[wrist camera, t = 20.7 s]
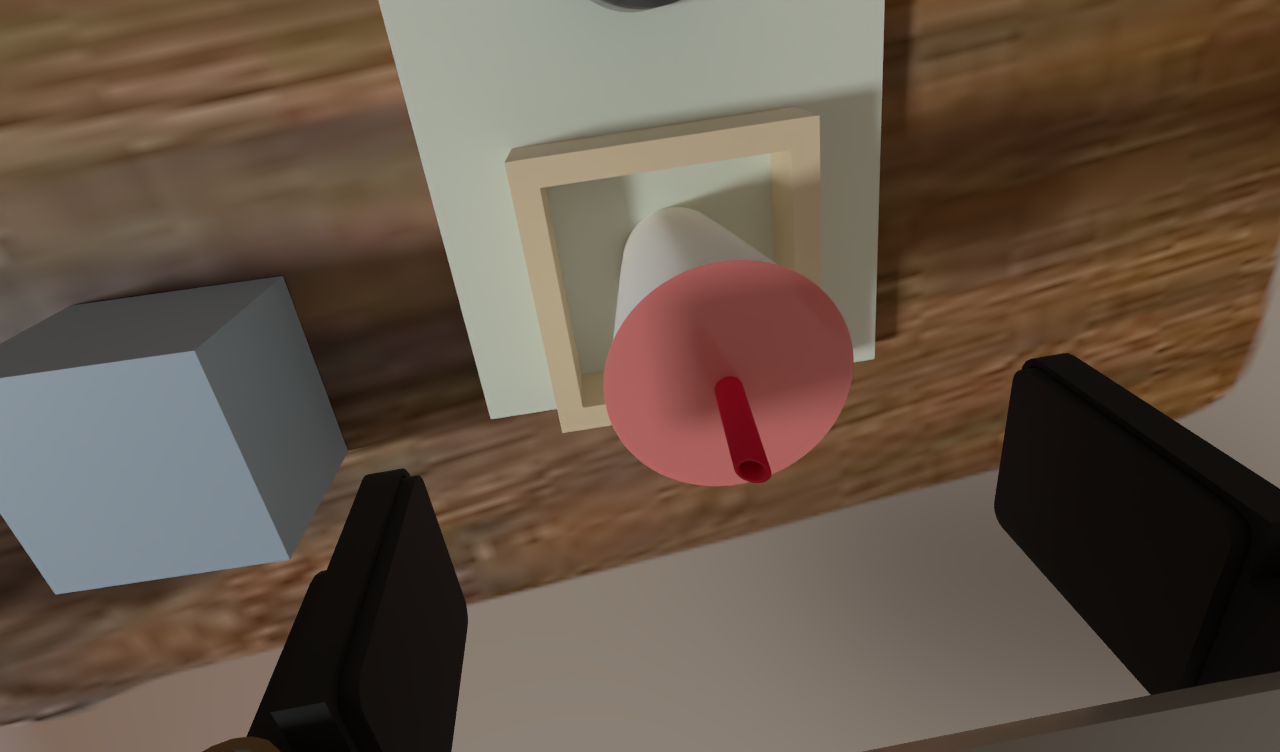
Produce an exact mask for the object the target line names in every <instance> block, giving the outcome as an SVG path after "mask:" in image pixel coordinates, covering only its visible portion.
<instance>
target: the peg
mask: <svg viewBox="0 0 1280 752" xmlns="http://www.w3.org/2000/svg"><path fill="white" fill-rule="evenodd" d="M590 1H592V2H594V3H596V4H598V5H599V6H602V7H604V8H607V9H610V10H614V11H619V12H629V13H630V12H641V11H646V10H650V9H654V8H658V7H661V6H665V5H668V4H672V3H675V2H677V1H680V0H590Z"/></svg>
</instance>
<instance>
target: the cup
mask: <svg viewBox="0 0 1280 752" xmlns="http://www.w3.org/2000/svg"><path fill="white" fill-rule="evenodd" d="M853 367H854V356H853V346H852V341H851V337H850V333H849V330H848V327H847V325H846V322H845V320H844V318H843V316H842V314H841V312H840V311H839V309H838V308H837V306H836V305H835V303H834V302H833V301H832V300H831V298H830V297H829V296H828V295H827V294H826V293H825V292H824V291H823V290H822V289H821V288H820V287H819V286H817V285H816V284H815V283H813V282H812V281H811V280H809V279H808V278H806V277H804V276H803V275H801V274H799V273H797V272H795V271H793V270H790V269H788V268H785V267H783V266H779V265H777V264H776V263H774V262H773V261H772V260H770V259H769V258H767V257H766V256H764V255H763V254H762V253H760V252H759V251H757V250H756V249H754V248H753V247H751V246H750V245H749V244H747V243H746V242H744V241H743V240H741V239H740V238H738V237H737V236H736V235H734V234H733V233H731V232H730V231H728V230H727V229H725V228H724V227H722V226H721V225H719V224H718V223H716V222H715V221H713V220H711V219H710V218H708V217H707V216H705V215H704V214H702V213H700V212H698V211H696V210H693V209H689V208H684V207H669V208H664V209H661V210H658V211H655V212H653V213H651V214H649V215H648V216H646V217H645V218H644V219H642V220H641V221H640V222H639V223H638V224H637V225H636V226H635V227H634V229H633V230H632V231H631V233H630V235H629V237H628V239H627V241H626V244H625V247H624V251H623V258H622V265H621V272H620V281H619V290H618V299H617V308H616V318H615V328H614V338H613V342H612V344H611V347H610V350H609V353H608V356H607V360H606V365H605V371H604V399H605V404H606V409H607V412H608V416H609V418H610V421H611V423H612V426H613V428H614V430H615V432H616V433H617V435H618V437H619V438H620V440H621V441H622V442H623V444H624V445H625V446H626V448H627V449H628V450H629V451H630V452H631V453H632V454H633V455H634V456H635V457H636V458H637V459H639V460H640V461H641V462H642V463H644V464H645V465H646V466H648V467H649V468H651V469H653V470H654V471H656V472H658V473H660V474H662V475H664V476H667V477H669V478H672V479H674V480H678V481H681V482H685V483H689V484H695V485H702V486H729V485H737V484H743V483H747V482H752V483H762V482H765V481H767V480H768V479H770V477H771V475H772V474H774V473H776V472H779V471H781V470H783V469H784V468H786V467H788V466H790V465H791V464H793V463H795V462H796V461H797V460H799V459H800V458H802V457H803V456H804V455H806V454H807V453H808V452H809V451H810V450H812V449H813V448H814V447H815V446H816V445H817V444H818V443H819V442H820V441H821V440H822V439H823V437H824V436H825V435H826V434H827V433H828V431H829V430H830V429H831V427H832V426H833V424H834V423H835V421H836V420H837V418H838V416H839V415H840V413H841V411H842V409H843V407H844V404H845V402H846V400H847V397H848V394H849V391H850V387H851V382H852V377H853Z"/></svg>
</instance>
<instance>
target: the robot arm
mask: <svg viewBox="0 0 1280 752" xmlns="http://www.w3.org/2000/svg"><path fill="white" fill-rule="evenodd" d="M994 509H995V514H996V517H997V520H998V522H999V524H1000V525H1001V526H1002V528H1003V529H1004V530H1005V531H1006V532H1007V533H1008V535H1009V536H1010V537H1011V538H1012V539H1013V540H1014V541H1015V542H1016V544H1017V545H1018V546H1019V547H1020V548H1021V549H1022V550H1023V551H1024V552H1025V554H1026V555H1027V556H1028V557H1029V558H1030V559H1031V561H1032V562H1033V563H1034V564H1035V565H1036V566H1037V567H1038V568H1039V569H1040V571H1041V572H1042V573H1043V574H1044V575H1045V576H1046V577H1047V579H1048V580H1049V581H1050V582H1051V583H1052V584H1053V585H1054V586H1055V587H1056V589H1057V590H1058V591H1059V592H1060V593H1061V594H1062V595H1063V597H1064V598H1065V599H1066V600H1067V601H1068V602H1069V603H1070V604H1071V605H1072V606H1073V608H1074V609H1075V610H1076V611H1077V612H1078V613H1079V614H1080V616H1081V617H1082V618H1083V619H1084V620H1085V621H1086V622H1087V624H1088V625H1089V626H1090V627H1091V628H1092V629H1093V630H1094V631H1095V632H1096V634H1097V635H1098V636H1099V637H1100V638H1101V639H1102V640H1103V642H1104V643H1105V644H1106V645H1107V646H1108V647H1109V648H1110V649H1111V651H1112V652H1113V653H1114V654H1115V655H1116V656H1117V657H1118V658H1119V660H1120V661H1121V662H1122V663H1123V664H1124V665H1125V666H1126V668H1127V669H1128V670H1129V671H1130V672H1131V673H1132V674H1133V675H1134V676H1135V678H1136V679H1137V680H1138V681H1139V682H1140V683H1141V684H1142V686H1143V687H1144V688H1145V689H1146V690H1147V691H1148V692H1149V693H1150V694H1151V695H1149V696H1144V697H1139V698H1134V699H1129V700H1123V701H1119V702H1113V703H1108V704H1103V705H1098V706H1093V707H1087V708H1082V709H1077V710H1072V711H1066V712H1061V713H1056V714H1051V715H1046V716H1040V717H1035V718H1030V719H1025V720H1020V721H1015V722H1010V723H1005V724H1000V725H995V726H989V727H984V728H979V729H975V730H969V731H964V732H960V733H955V734H949V735H944V736H939V737H934V738H929V739H924V740H919V741H914V742H909V743H904V744H899V745H894V746H889V747H884V748H879V749H874V750H869V751H864V752H1280V489H1279V488H1278V487H1276V486H1274V485H1273V484H1271V483H1270V482H1268V481H1267V480H1265V479H1264V478H1262V477H1260V476H1259V475H1257V474H1256V473H1254V472H1253V471H1251V470H1250V469H1248V468H1247V467H1245V466H1244V465H1242V464H1240V463H1239V462H1237V461H1236V460H1234V459H1233V458H1231V457H1230V456H1228V455H1227V454H1225V453H1224V452H1222V451H1220V450H1219V449H1217V448H1216V447H1214V446H1213V445H1211V444H1210V443H1208V442H1207V441H1205V440H1203V439H1202V438H1200V437H1199V436H1197V435H1196V434H1194V433H1192V432H1191V431H1190V430H1188V429H1186V428H1185V427H1183V426H1182V425H1180V424H1179V423H1177V422H1176V421H1174V420H1173V419H1171V418H1169V417H1168V416H1166V415H1165V414H1163V413H1162V412H1160V411H1159V410H1157V409H1156V408H1154V407H1152V406H1151V405H1149V404H1148V403H1146V402H1145V401H1143V400H1142V399H1140V398H1139V397H1137V396H1135V395H1134V394H1132V393H1131V392H1129V391H1128V390H1126V389H1125V388H1123V387H1122V386H1120V385H1118V384H1117V383H1115V382H1114V381H1112V380H1111V379H1109V378H1108V377H1106V376H1105V375H1103V374H1101V373H1100V372H1098V371H1097V370H1095V369H1094V368H1092V367H1091V366H1089V365H1088V364H1086V363H1084V362H1083V361H1081V360H1080V359H1078V358H1077V357H1075V356H1073V355H1071V354H1069V353H1063V354H1057V355H1051V356H1045V357H1040V358H1034V359H1030V360H1028V361H1026V362H1025V364H1024V365H1023V367H1022V370H1019V371H1018V372H1016V374H1015V375H1014V378H1013V382H1012V389H1011V395H1010V402H1009V409H1008V415H1007V422H1006V428H1005V435H1004V442H1003V448H1002V455H1001V462H1000V468H999V475H998V482H997V488H996V495H995V502H994ZM467 626H468V615H467V607H466V602H465V599H464V596H463V593H462V590H461V587H460V585H459V582H458V579H457V576H456V573H455V570H454V567H453V564H452V562H451V559H450V556H449V553H448V550H447V547H446V544H445V541H444V538H443V536H442V533H441V530H440V527H439V524H438V521H437V518H436V515H435V512H434V510H433V507H432V504H431V501H430V498H429V495H428V492H427V489H426V487H425V484H424V481H423V479H422V478H421V476H419V475H418V476H412V477H410V475H409V473H408V472H407V470H406V469H397V470H391V471H386V472H380V473H374V474H368V475H366V476H365V477H364V478H363V480H362V482H361V485H360V487H359V490H358V493H357V495H356V498H355V500H354V503H353V505H352V508H351V510H350V513H349V515H348V518H347V520H346V523H345V525H344V528H343V530H342V533H341V535H340V538H339V540H338V543H337V545H336V548H335V551H334V553H333V556H332V558H331V561H330V563H329V566H328V568H327V570H325V571H321V572H319V573H318V574H317V575H315V577H314V578H313V580H312V582H311V583H310V586H309V588H308V590H307V593H306V595H305V598H304V600H303V602H302V605H301V607H300V610H299V612H298V614H297V617H296V619H295V622H294V624H293V626H292V629H291V631H290V634H289V636H288V638H287V641H286V643H285V646H284V648H283V650H282V653H281V655H280V658H279V660H278V662H277V665H276V667H275V670H274V672H273V675H272V677H271V679H270V682H269V684H268V687H267V689H266V691H265V694H264V696H263V699H262V701H261V703H260V706H259V708H258V711H257V713H256V715H255V718H254V720H253V723H252V725H251V727H250V730H249V732H248V735H247V737H243V738H235V739H230V740H228V741H225V742H222V743H220V744H217V745H214V746H211V747H210V748H208V749H206V750H205V751H203V752H451V749H452V742H453V735H454V727H455V719H456V711H457V704H458V696H459V688H460V680H461V673H462V664H463V658H464V650H465V642H466V634H467Z"/></svg>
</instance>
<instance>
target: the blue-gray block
mask: <svg viewBox="0 0 1280 752" xmlns="http://www.w3.org/2000/svg"><path fill="white" fill-rule="evenodd" d="M347 452H348V450H347V447H346V445H345V442H344V439H343V436H342V434H341V431H340V428H339V426H338V423H337V420H336V418H335V415H334V412H333V410H332V407H331V404H330V402H329V399H328V396H327V393H326V391H325V388H324V385H323V383H322V380H321V377H320V375H319V372H318V369H317V367H316V364H315V361H314V358H313V356H312V353H311V350H310V348H309V345H308V342H307V340H306V337H305V334H304V332H303V329H302V326H301V324H300V321H299V318H298V315H297V313H296V310H295V307H294V305H293V302H292V299H291V297H290V294H289V291H288V289H287V286H286V283H285V281H284V278H283V276H279V277H272V278H265V279H258V280H250V281H243V282H236V283H229V284H222V285H215V286H207V287H200V288H193V289H186V290H179V291H172V292H164V293H157V294H150V295H143V296H136V297H128V298H121V299H114V300H107V301H100V302H93V303H85V304H78V305H71V306H69V307H67V308H65V309H63V310H62V311H60V312H58V313H56V314H54V315H52V316H51V317H49V318H47V319H45V320H43V321H41V322H40V323H38V324H36V325H34V326H32V327H30V328H29V329H27V330H25V331H23V332H21V333H19V334H18V335H16V336H14V337H12V338H10V339H8V340H7V341H5V342H3V343H1V344H0V514H1V516H2V517H3V519H4V520H5V521H6V523H7V524H8V526H9V527H10V529H11V530H12V532H13V533H14V535H15V536H16V538H17V539H18V541H19V542H20V543H21V545H22V546H23V548H24V549H25V551H26V552H27V554H28V555H29V557H30V558H31V560H32V561H33V563H34V564H35V565H36V567H37V568H38V570H39V571H40V573H41V574H42V576H43V577H44V579H45V580H46V582H47V583H48V585H49V586H50V587H51V589H52V590H53V592H54V593H55V595H56V594H63V593H69V592H76V591H83V590H90V589H96V588H103V587H110V586H116V585H123V584H130V583H136V582H143V581H150V580H156V579H163V578H170V577H177V576H183V575H190V574H197V573H203V572H210V571H217V570H223V569H230V568H237V567H243V566H250V565H257V564H263V563H270V562H277V561H284V560H290V558H291V557H292V555H293V553H294V551H295V549H296V547H297V545H298V544H299V542H300V540H301V538H302V536H303V534H304V532H305V530H306V529H307V527H308V525H309V523H310V521H311V519H312V517H313V516H314V514H315V512H316V510H317V508H318V506H319V504H320V502H321V501H322V499H323V497H324V495H325V493H326V491H327V489H328V488H329V486H330V484H331V482H332V480H333V478H334V476H335V474H336V473H337V471H338V469H339V467H340V465H341V463H342V461H343V460H344V458H345V456H346V454H347Z"/></svg>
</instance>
